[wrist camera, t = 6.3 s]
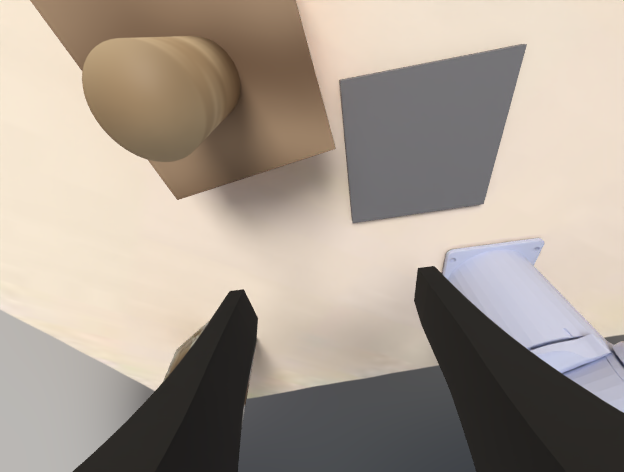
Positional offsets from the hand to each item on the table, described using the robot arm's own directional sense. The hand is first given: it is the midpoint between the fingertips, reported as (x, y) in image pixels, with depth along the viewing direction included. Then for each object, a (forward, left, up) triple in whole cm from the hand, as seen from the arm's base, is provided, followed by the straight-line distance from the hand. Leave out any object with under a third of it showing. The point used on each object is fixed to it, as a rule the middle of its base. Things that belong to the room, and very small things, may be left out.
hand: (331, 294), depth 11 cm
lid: (+8, +4, -6) cm, 11 cm away
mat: (+1, -7, -10) cm, 13 cm away
